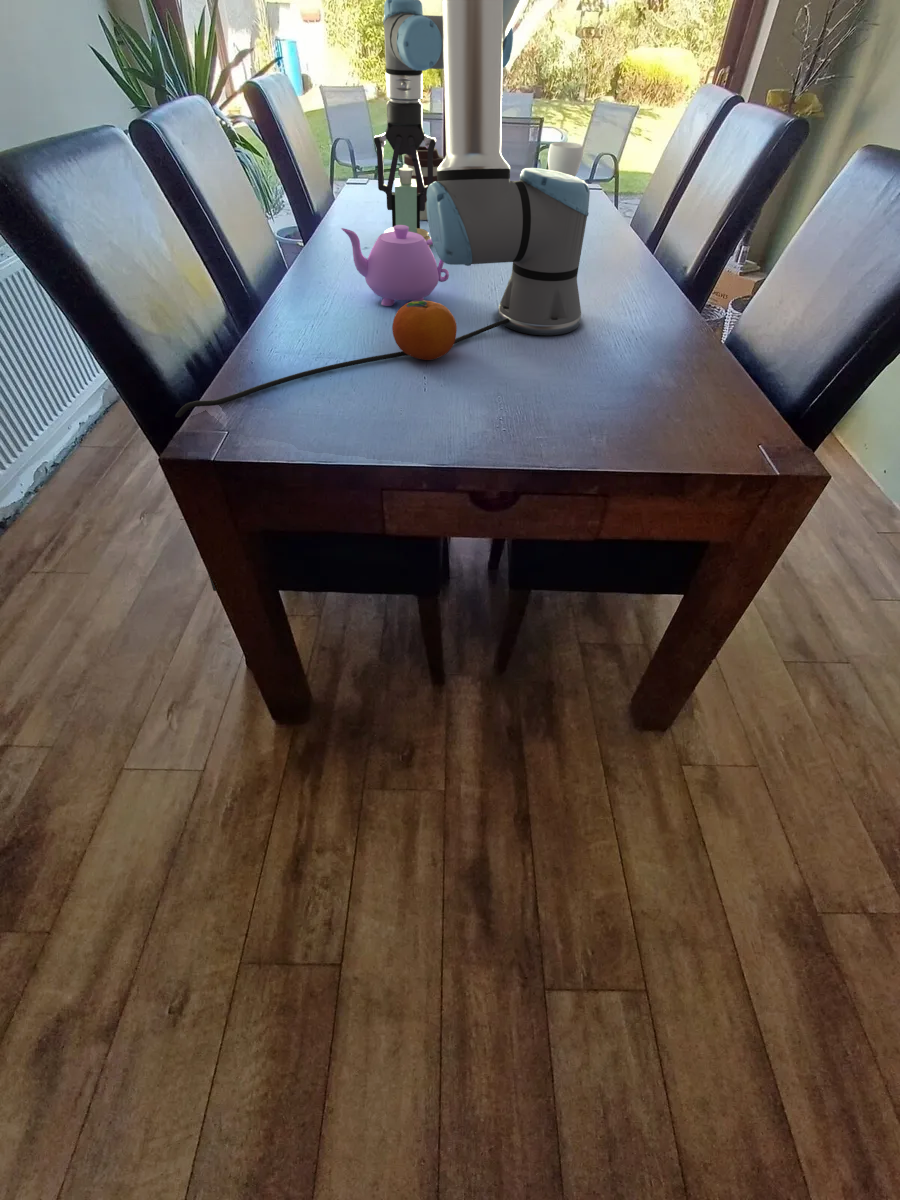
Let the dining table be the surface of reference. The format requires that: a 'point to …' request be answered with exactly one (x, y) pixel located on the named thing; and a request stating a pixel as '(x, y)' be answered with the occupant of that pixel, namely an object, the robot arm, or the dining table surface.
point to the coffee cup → (424, 170)
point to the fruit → (424, 329)
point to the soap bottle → (406, 202)
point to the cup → (565, 157)
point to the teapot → (399, 265)
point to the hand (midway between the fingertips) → (406, 226)
